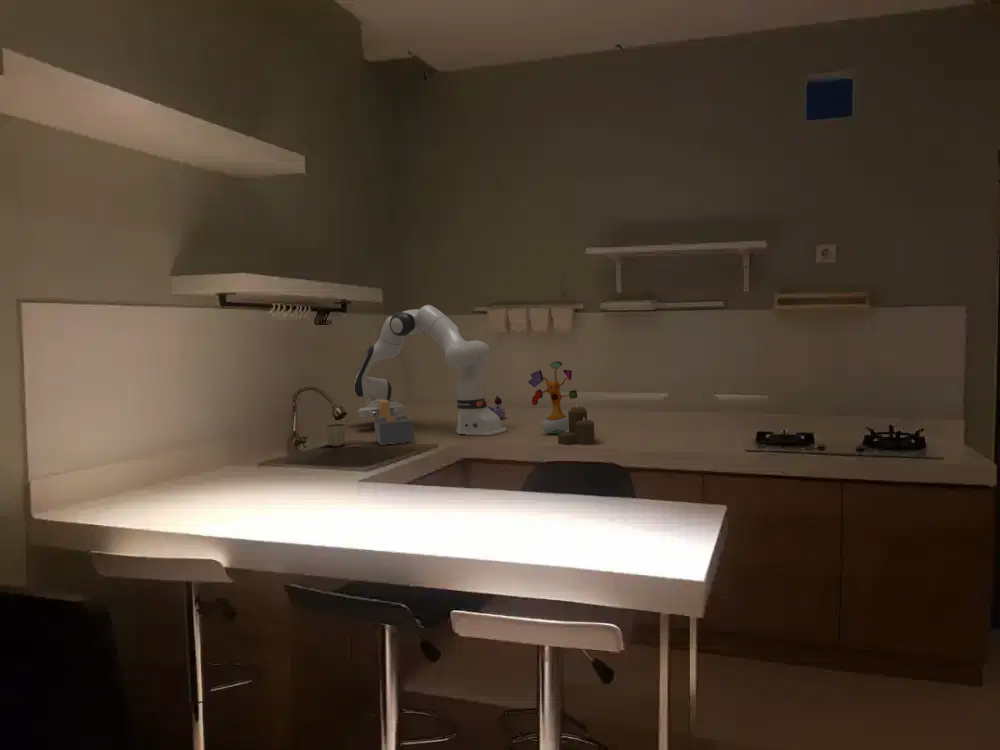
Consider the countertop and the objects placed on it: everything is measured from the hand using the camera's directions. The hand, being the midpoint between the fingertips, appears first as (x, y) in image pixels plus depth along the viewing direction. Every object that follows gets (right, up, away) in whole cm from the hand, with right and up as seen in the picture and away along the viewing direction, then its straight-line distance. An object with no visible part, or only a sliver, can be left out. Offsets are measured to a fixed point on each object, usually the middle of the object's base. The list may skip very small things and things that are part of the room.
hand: (384, 413), depth 374 cm
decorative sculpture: (+74, -8, -25) cm, 78 cm away
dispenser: (+8, -11, -24) cm, 27 cm away
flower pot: (-16, -13, -25) cm, 33 cm away
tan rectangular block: (0, -8, +2) cm, 9 cm away
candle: (+82, -9, -44) cm, 93 cm away
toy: (+46, -4, +21) cm, 51 cm away
